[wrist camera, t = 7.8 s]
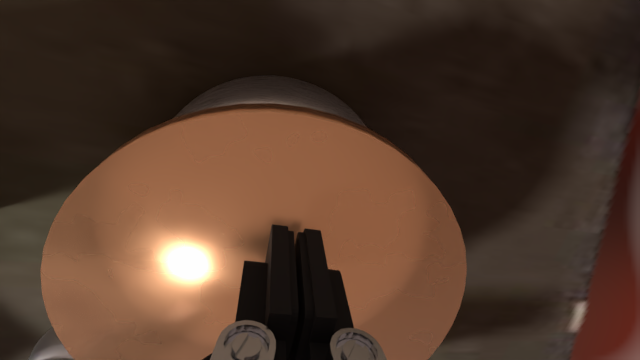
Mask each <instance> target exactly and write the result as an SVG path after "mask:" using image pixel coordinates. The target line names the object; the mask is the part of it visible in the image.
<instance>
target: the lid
mask: <svg viewBox="0 0 640 360" xmlns="http://www.w3.org/2000/svg"><path fill="white" fill-rule="evenodd" d="M272 224H274V225H282V226H288V231H294V243H295V242H296V237H297V233H298V232H303V231H304V229H305V228H306V229H314V230H320V231H321V234H322V239H323V245H324V250H325V255H326V260H327V266H328V269H332V270H339V271H340V272H341V275H342V279H343V284H344V288H345V292H346V296H347V300H348V305H349V309H350V313H351V317H352V321H353V325H354V328H356V329H359V330H362V331H365V332H366V333H368V334H370V335H371V336H372V337H373V338H374V339H376V340H377V342H378V343H379V345H380V346H381V348H382V350H383V352H384V354H385V356H386V358H387V360H427V359H428V358H429V357H430V356H431V355H432V354H433V353H434V351H435V350H436V349H437V348H438V346H439V345H440V344H441V343H442V341H443V340H444V338H445V336H446V335H447V333H448V331H449V330H450V328H451V326H452V325H453V322H454V320H455V318H456V315H457V313H458V311H459V308H460V305H461V301H462V298H463V294H464V290H465V282H466V272H467V266H466V252H465V246H464V242H463V238H462V234H461V230H460V227H459V225H458V223H457V220H456V218H455V216H454V214H453V211H452V209H451V207H450V206H449V204H448V203H447V201H446V200H445V198H444V197H443V195H442V194H441V192H440V191H439V189H438V188H437V187H436V186H435V184H434V183H433V182H432V181H431V180H430V178H429V177H428V176H427V175H426V174H425V173H424V171H423V170H422V169H421V168H420V167H419V166H418V165H417V164H416V163H415V162H414V161H413V160H412V159H411V158H410V157H409V156H408V155H407V154H406V153H405V152H403V151H402V150H401V149H399V148H398V147H397V146H396V145H394V144H393V143H392V142H390V141H389V140H388V139H386V138H384V137H383V136H381V135H379V134H377V133H376V132H374V131H372V130H370V129H369V128H367V127H365V126H363V125H361V124H358V123H356V122H353V121H351V120H348V119H346V118H343V117H341V116H338V115H335V114H331V113H327V112H323V111H319V110H315V109H311V108H307V107H301V106H292V105H284V104H275V103H254V104H234V105H227V106H220V107H213V108H207V109H203V110H200V111H196V112H192V113H189V114H185V115H182V116H178V117H175V118H173V119H171V120H168V121H166V122H164V123H161V124H159V125H157V126H154V127H152V128H150V129H147V130H146V131H144V132H143V133H141V134H139V135H138V136H136V137H134V138H133V139H131V140H130V141H128V142H126V143H125V144H123V145H122V146H120V147H119V148H118V149H117V150H116V151H115V152H113V153H112V154H111V155H110V156H109V157H107V158H106V159H105V160H104V161H103V162H102V163H100V164H99V165H98V166H97V167H96V168H95V169H94V170H93V171H92V172H91V173H90V174H88V175H87V176H86V177H85V178H84V179H83V180H82V181H81V182H80V184H79V185H78V186H77V187H76V188H75V190H74V191H73V192H72V193H71V194H70V196H69V197H68V198H67V199H66V200H65V202H64V203H63V205H62V207H61V209H60V211H59V212H58V214H57V216H56V218H55V219H54V221H53V223H52V225H51V228H50V231H49V234H48V237H47V240H46V243H45V246H44V249H43V257H42V264H41V285H42V296H43V300H44V303H45V307H46V311H47V315H48V317H49V320H50V322H51V324H52V326H53V328H54V330H55V333H56V335H57V337H58V338H59V340H60V341H61V342H62V344H63V345H64V347H65V348H66V350H67V351H68V353H69V354H70V355H71V356H72V358H73V359H74V360H202V359H204V358H205V357H207V356H208V355H210V354H211V353H213V350H214V347H215V345H216V342H217V340H218V337H219V335H220V334H221V332H222V330H224V329H225V328H226V327H227V326H228V325H230V324H232V323H234V322H235V319H236V313H237V306H238V299H239V292H240V286H241V279H242V272H243V266H244V260H245V261H255V262H264V263H265V260H266V254H267V248H268V243H269V237H270V231H271V226H272Z"/></svg>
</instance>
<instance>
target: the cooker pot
mask: <svg viewBox="0 0 640 360" xmlns="http://www.w3.org/2000/svg"><path fill="white" fill-rule="evenodd" d="M254 103H275V104H284V105H292V106H301V107H307V108H311V109H315V110H319V111H323V112H327V113H331V114H335V115H338V116H341V117H343V118H346V119H348V120H351V121H353V122H356V123H358V124H361V125H363V126H365V127H366V125H365V124H364V123H363V122H362V120H361V119H360V118H359V116H358V115H357V114H356V113H355V112H354V111H353V110H352V109H351V108H350V107H349V106H348V105H347V104H345V103H344V102H343V101H342V100H340V99H339V98H338V97H337V96H335V95H333V94H332V93H330V92H328V91H326V90H325V89H323V88H321V87H318V86H316V85H314V84H311V83H309V82H306V81H302V80H298V79H295V78H290V77H283V76H275V75H268V76H251V77H244V78H239V79H235V80H232V81H228V82H224V83H222V84H220V85H218V86H215V87H213V88H211V89H209V90H207V91H206V92H204V93H202V94H201V95H199V96H197V97H196V98H195V99H193V100H192V101H191V102H190V103H189V104H187V105H186V106H185V107H184V108H183V109H182V110H181V111H180V112H179V113H178V114H177V115H176V116H175V117H178V116H182V115H185V114H189V113H192V112H196V111H200V110H203V109H207V108H213V107H220V106H227V105H234V104H254ZM175 117H174V118H175Z"/></svg>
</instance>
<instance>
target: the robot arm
mask: <svg viewBox="0 0 640 360" xmlns="http://www.w3.org/2000/svg"><path fill="white" fill-rule="evenodd" d="M202 360H387V358H386V356H385V354H384V352H383V350H382V348H381V346H380V345H379V343H378V342H377V340H376V339H374V338H373V337H372V336H371V335H370V334H368V333H366V332H365V331H362V330H359V329H356V328H354V325H353V321H352V317H351V313H350V309H349V305H348V300H347V296H346V292H345V288H344V284H343V279H342V275H341V272H340V271H339V270H332V269H328V266H327V260H326V255H325V250H324V245H323V239H322V234H321V231H320V230H314V229H306V228H305V229H304V231H303V232H298V233H297V237H296V242H295V243H294V231H288V226H282V225H274V224H272V226H271V231H270V237H269V243H268V248H267V254H266V260H265V263H264V262H255V261H245V260H244V266H243V272H242V279H241V286H240V292H239V299H238V306H237V313H236V319H235V322H234V323H232V324H230V325H228V326H227V327H226V328H225V329H224V330H222V332H221V334H220V335H219V337H218V340H217V342H216V345H215V347H214V350H213V353H211V354H210V355H208V356H207V357H205V358H204V359H202Z"/></svg>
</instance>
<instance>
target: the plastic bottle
mask: <svg viewBox="0 0 640 360" xmlns="http://www.w3.org/2000/svg"><path fill="white" fill-rule="evenodd" d="M28 360H74V359H73V358H72V356H71V355H70V354H69V353H68V351H67V350H66V348H65V347H64V345H63V344H62V342H61V341H60V340H59V338H58V337H57V335H56V333H55V330H54V328H53V326H52V327H51V328H50V329H49V330H48V331H47V332H46V333H45V334H44V335H43V336H42V337H41V338H40V340H39V341H38V342H37V343H36V345H35V347H34V349H33V351H32V353H31V355H30V357H29V359H28Z"/></svg>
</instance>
